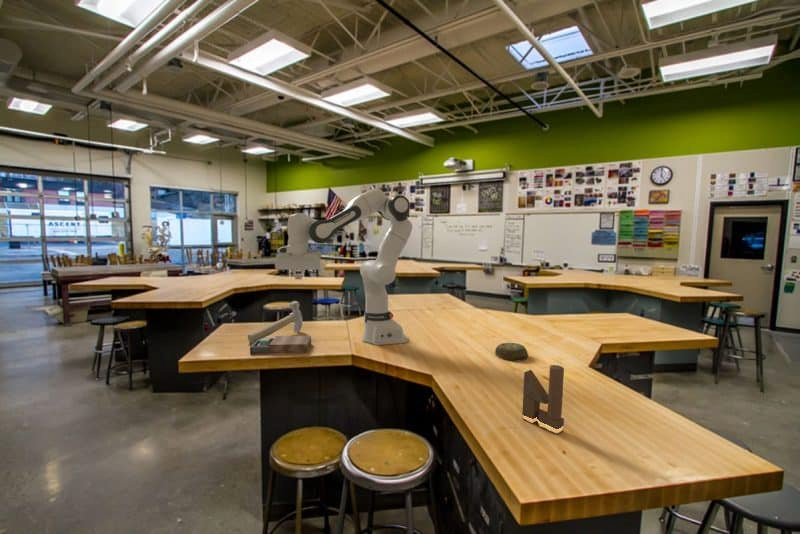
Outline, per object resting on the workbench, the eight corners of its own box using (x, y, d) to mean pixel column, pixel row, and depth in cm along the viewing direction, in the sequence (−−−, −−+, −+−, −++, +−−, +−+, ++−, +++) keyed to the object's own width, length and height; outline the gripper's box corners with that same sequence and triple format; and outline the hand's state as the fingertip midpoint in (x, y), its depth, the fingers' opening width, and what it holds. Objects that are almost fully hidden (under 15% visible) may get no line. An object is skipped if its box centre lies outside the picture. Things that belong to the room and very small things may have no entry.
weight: (489, 353, 167) (489, 342, 167) (514, 350, 171) (515, 339, 171) (507, 363, 154) (507, 351, 154) (534, 360, 159) (534, 348, 158)
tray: (276, 344, 175) (276, 338, 175) (269, 353, 162) (268, 346, 162) (259, 344, 174) (258, 338, 174) (250, 353, 162) (249, 347, 161)
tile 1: (260, 342, 170) (260, 346, 170) (257, 345, 166) (257, 349, 166) (269, 342, 170) (269, 346, 170) (266, 345, 166) (266, 349, 166)
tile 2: (270, 342, 170) (270, 338, 170) (268, 345, 167) (268, 340, 166) (261, 342, 170) (261, 338, 170) (259, 345, 166) (259, 340, 166)
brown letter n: (528, 415, 111) (531, 356, 109) (563, 431, 102) (567, 367, 100) (521, 419, 108) (524, 359, 106) (556, 435, 100) (560, 370, 98)
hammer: (249, 325, 172) (300, 301, 195) (243, 323, 174) (294, 300, 197) (257, 355, 176) (305, 328, 199) (251, 353, 179) (300, 327, 202)
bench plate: (311, 344, 176) (311, 335, 176) (306, 353, 164) (306, 344, 163) (276, 344, 175) (276, 336, 175) (269, 353, 162) (268, 344, 162)
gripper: (322, 248, 173) (322, 278, 175) (277, 248, 172) (277, 278, 173) (320, 249, 167) (320, 280, 169) (273, 249, 166) (274, 280, 167)
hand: (298, 279), depth 171 cm, fingers closed
